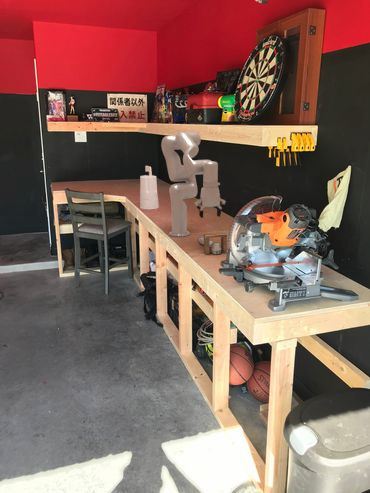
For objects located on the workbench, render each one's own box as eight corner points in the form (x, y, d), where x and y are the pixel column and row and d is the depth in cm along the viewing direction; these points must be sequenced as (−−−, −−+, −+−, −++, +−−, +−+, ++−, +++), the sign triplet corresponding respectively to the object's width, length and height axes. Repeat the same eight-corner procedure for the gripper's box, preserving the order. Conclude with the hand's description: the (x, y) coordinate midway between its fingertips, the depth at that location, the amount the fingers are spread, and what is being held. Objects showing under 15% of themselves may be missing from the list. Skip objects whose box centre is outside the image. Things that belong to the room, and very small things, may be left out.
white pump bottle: (136, 207, 350) (134, 166, 340) (152, 204, 358) (150, 164, 349) (146, 210, 338) (144, 167, 328) (162, 207, 346) (161, 166, 337)
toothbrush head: (205, 235, 246) (222, 241, 223) (206, 247, 248) (223, 253, 224) (196, 236, 245) (213, 242, 221) (197, 248, 246) (213, 254, 222)
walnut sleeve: (203, 252, 228) (203, 234, 225) (224, 250, 231) (224, 232, 228) (205, 254, 224) (205, 236, 221) (226, 252, 227) (227, 234, 224)
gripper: (223, 183, 231) (222, 214, 236) (192, 185, 226) (192, 216, 231) (228, 185, 224) (227, 217, 229) (196, 187, 219) (196, 219, 224)
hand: (210, 216), depth 230 cm, fingers open, 9 cm apart
